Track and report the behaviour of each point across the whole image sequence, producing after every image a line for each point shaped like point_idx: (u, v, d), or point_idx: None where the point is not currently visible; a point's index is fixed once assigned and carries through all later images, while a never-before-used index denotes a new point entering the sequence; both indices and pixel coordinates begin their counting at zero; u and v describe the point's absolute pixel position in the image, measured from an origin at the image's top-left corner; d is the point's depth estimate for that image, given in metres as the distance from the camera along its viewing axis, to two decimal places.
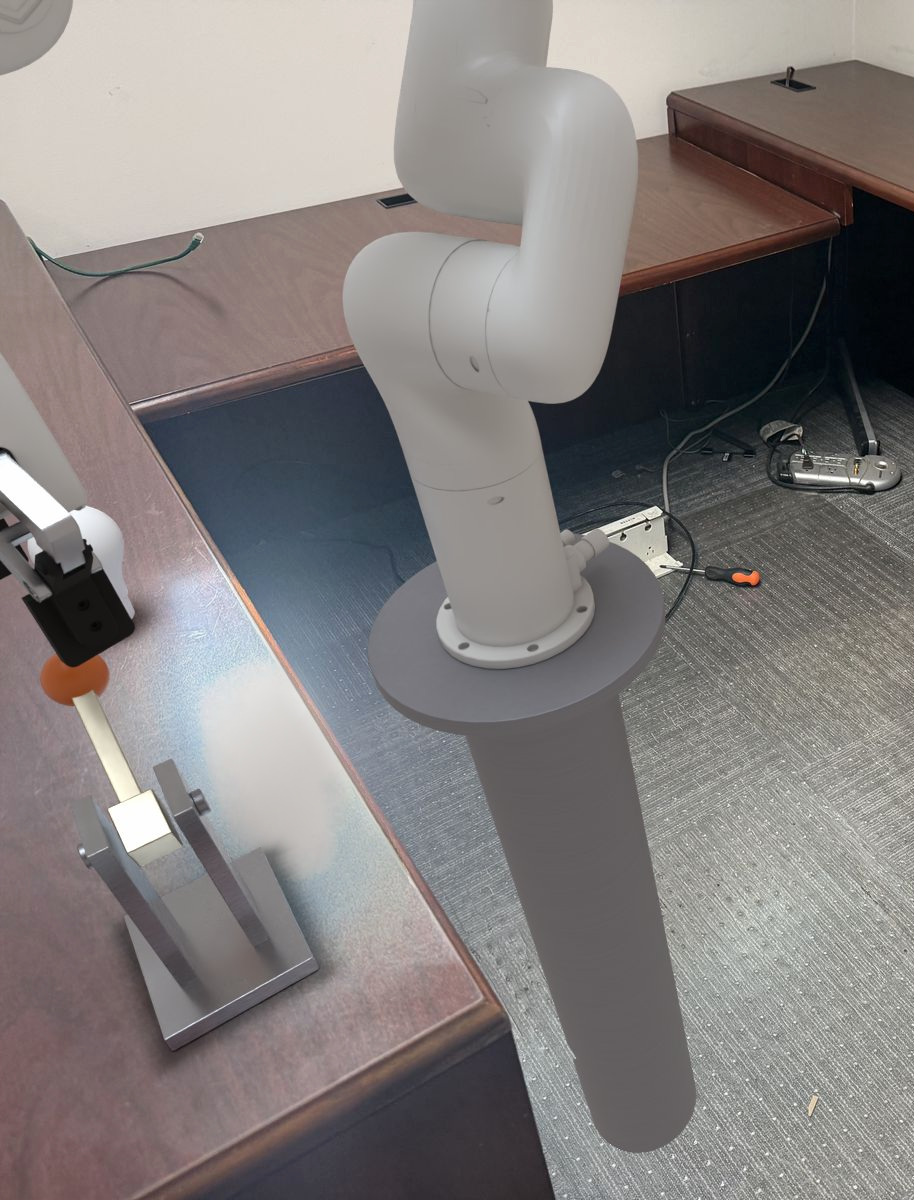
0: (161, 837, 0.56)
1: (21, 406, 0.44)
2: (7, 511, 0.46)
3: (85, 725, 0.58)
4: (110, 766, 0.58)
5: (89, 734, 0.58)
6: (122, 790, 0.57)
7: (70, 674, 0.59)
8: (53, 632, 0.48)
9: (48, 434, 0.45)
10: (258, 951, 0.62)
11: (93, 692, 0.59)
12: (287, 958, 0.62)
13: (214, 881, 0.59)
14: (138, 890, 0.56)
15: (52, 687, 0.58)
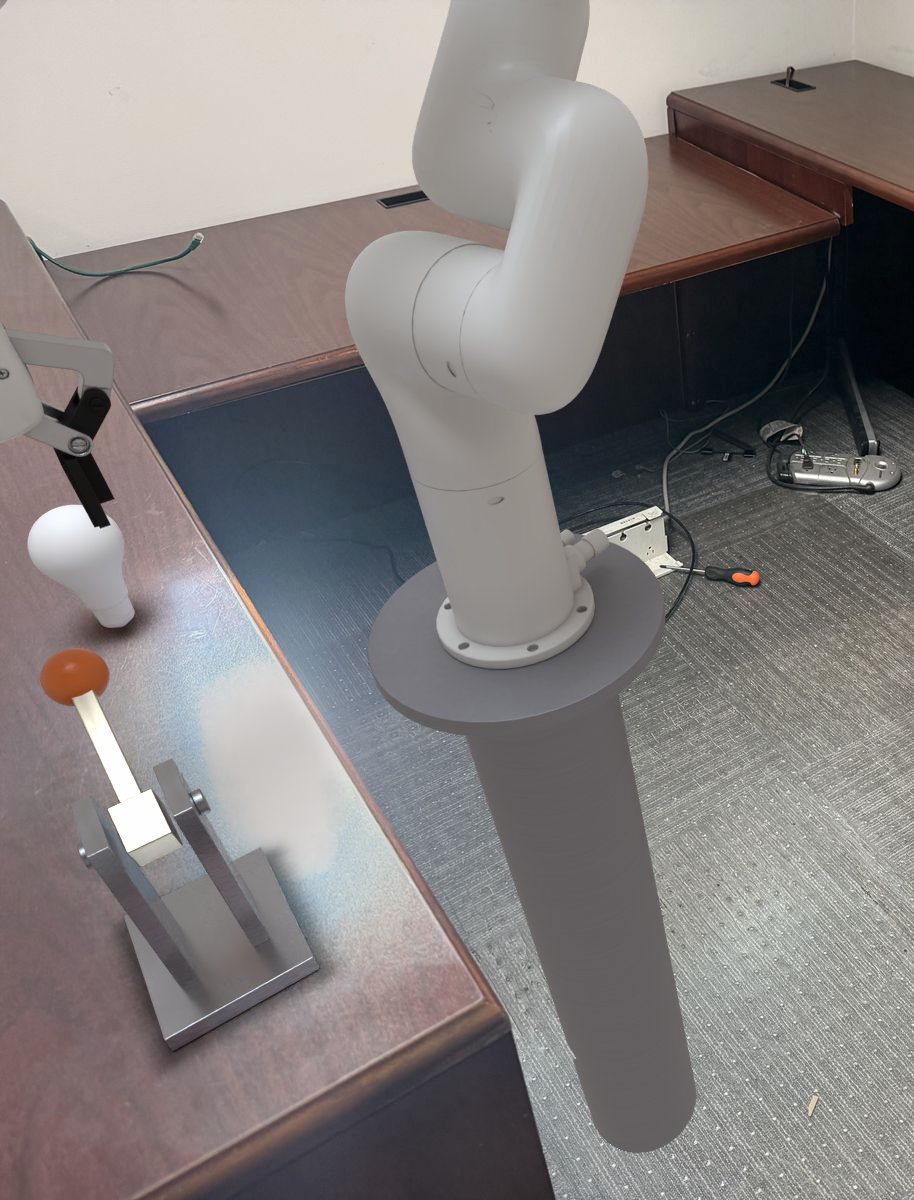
0: (161, 837, 0.56)
1: None
2: None
3: (85, 725, 0.58)
4: (110, 766, 0.58)
5: (89, 734, 0.58)
6: (122, 790, 0.57)
7: (70, 674, 0.59)
8: (93, 491, 0.55)
9: None
10: (258, 951, 0.62)
11: (93, 692, 0.59)
12: (287, 958, 0.62)
13: (214, 881, 0.59)
14: (138, 890, 0.56)
15: (52, 687, 0.58)
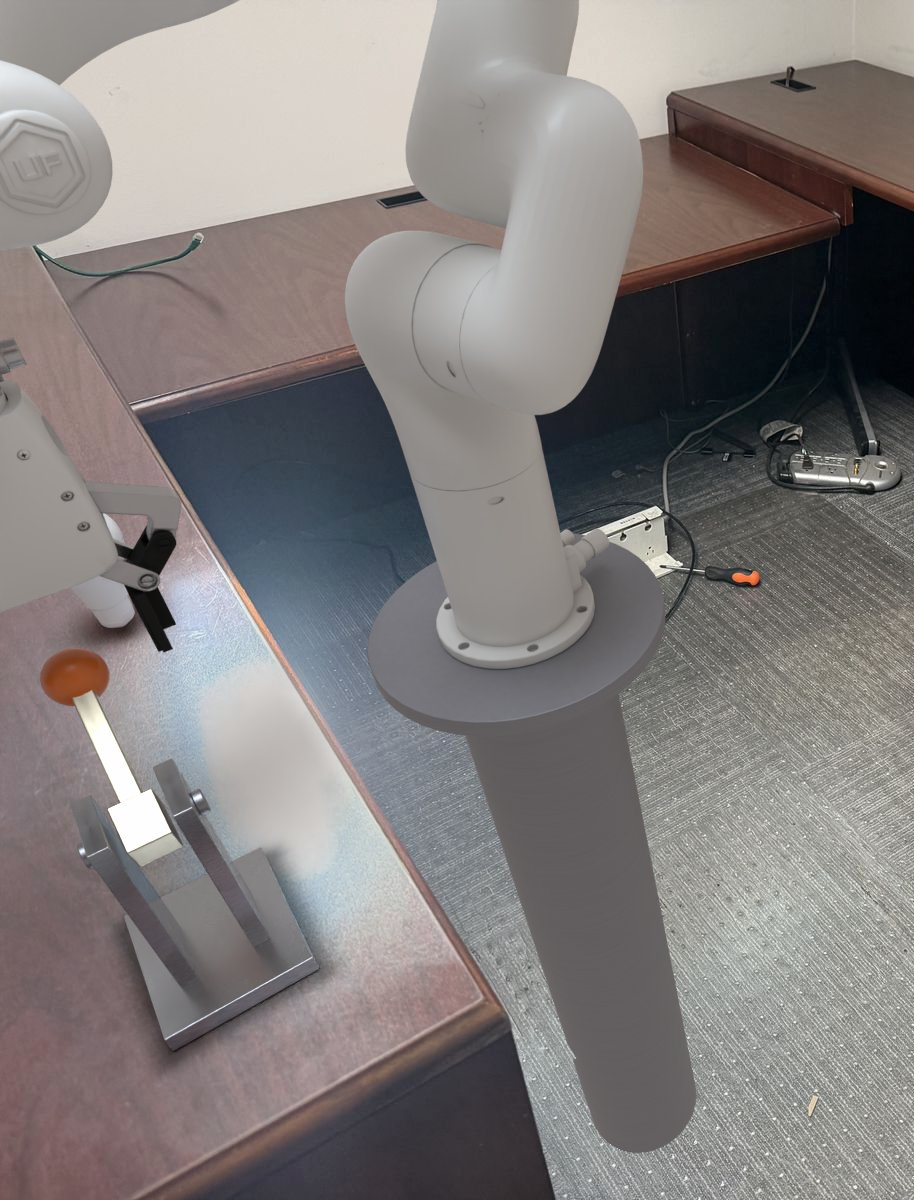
0: (161, 837, 0.56)
1: None
2: None
3: (85, 725, 0.58)
4: (110, 766, 0.58)
5: (89, 734, 0.58)
6: (122, 790, 0.57)
7: (70, 674, 0.59)
8: (158, 620, 0.60)
9: None
10: (258, 951, 0.62)
11: (93, 692, 0.59)
12: (287, 958, 0.62)
13: (214, 881, 0.59)
14: (138, 890, 0.56)
15: (52, 687, 0.58)
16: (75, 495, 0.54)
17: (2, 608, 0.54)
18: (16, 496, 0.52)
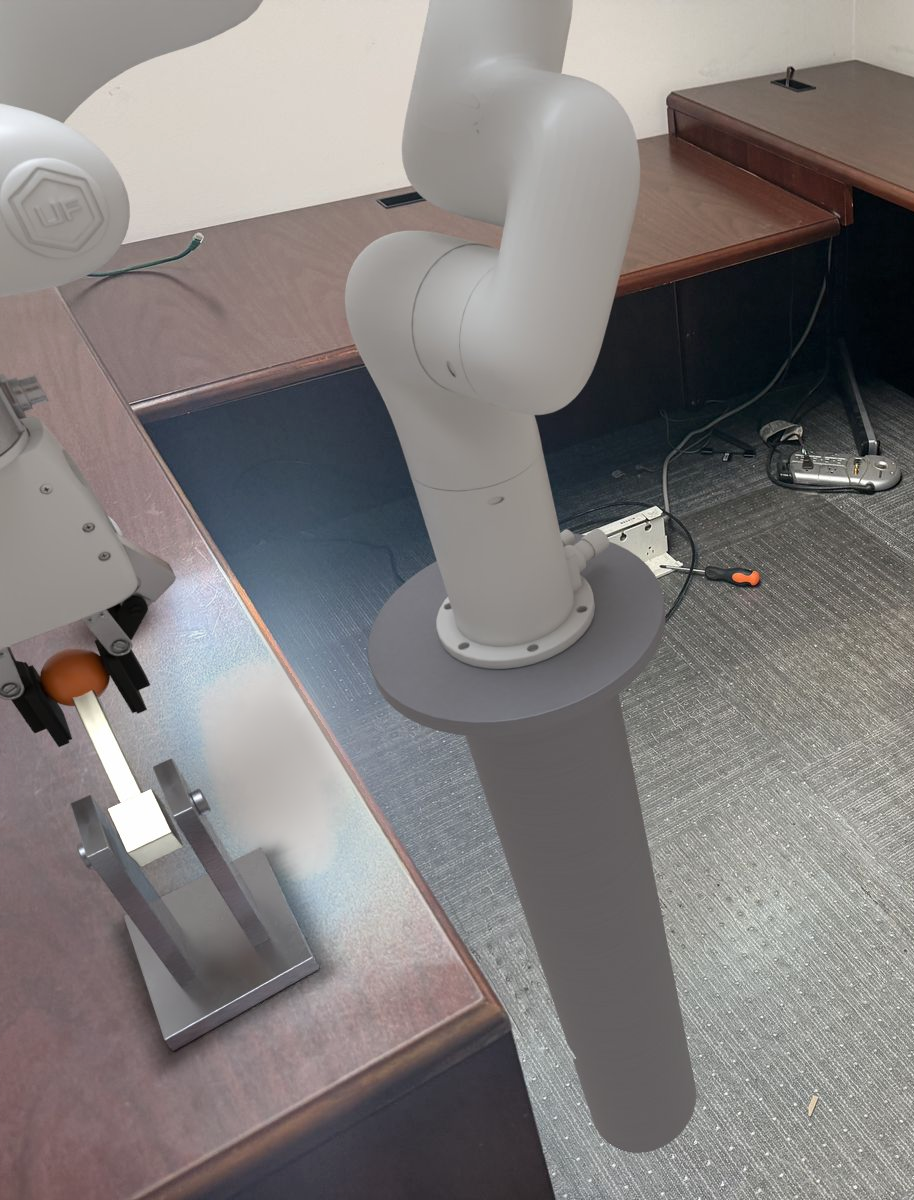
0: (161, 837, 0.56)
1: None
2: None
3: (85, 725, 0.58)
4: (110, 766, 0.58)
5: (89, 734, 0.58)
6: (122, 790, 0.57)
7: (70, 674, 0.59)
8: (131, 683, 0.61)
9: None
10: (258, 951, 0.62)
11: (93, 692, 0.59)
12: (287, 958, 0.62)
13: (214, 881, 0.59)
14: (138, 890, 0.56)
15: (52, 687, 0.58)
16: (96, 526, 0.55)
17: (26, 636, 0.55)
18: (39, 529, 0.53)
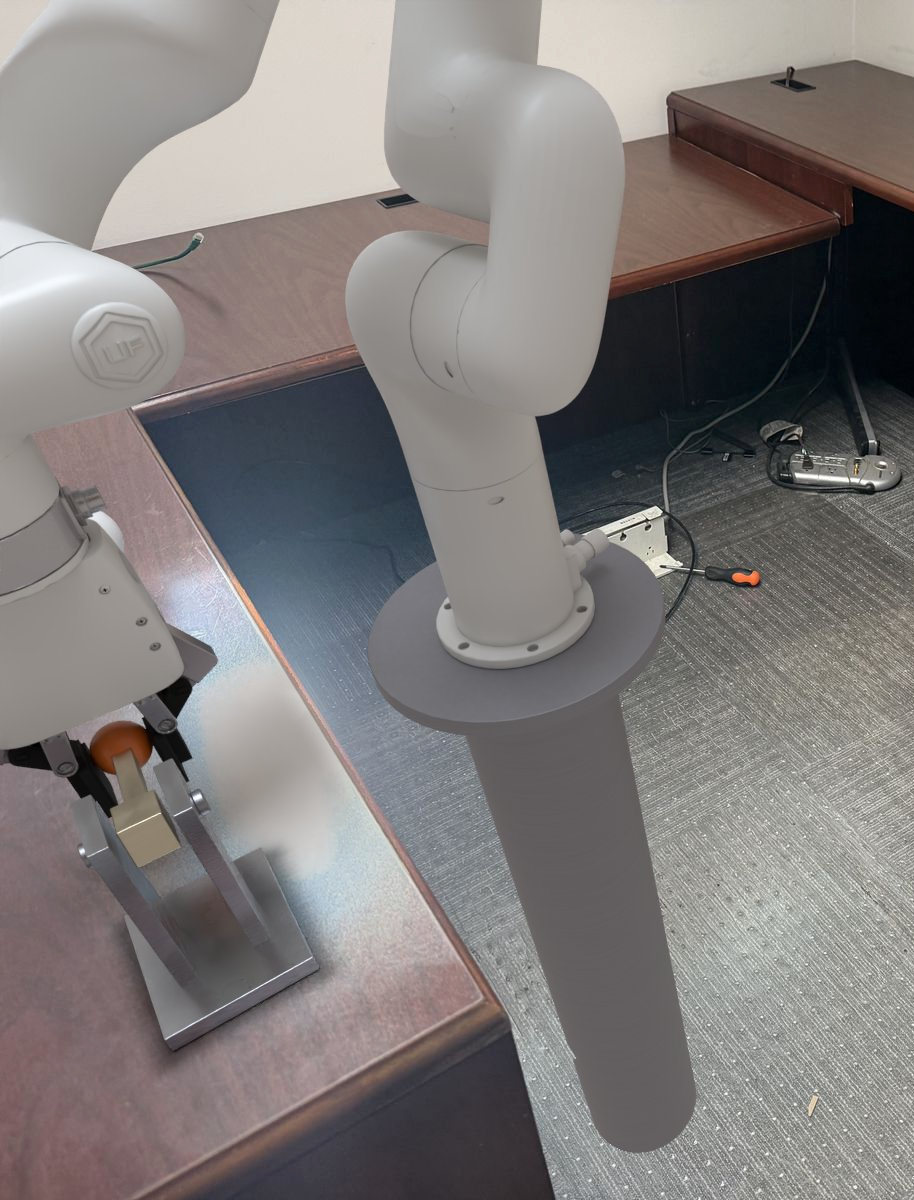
0: (151, 818, 0.56)
1: None
2: None
3: (116, 769, 0.62)
4: (126, 789, 0.59)
5: (117, 773, 0.61)
6: None
7: (111, 732, 0.63)
8: (176, 757, 0.65)
9: None
10: (258, 951, 0.62)
11: (130, 748, 0.63)
12: (287, 958, 0.62)
13: (214, 881, 0.59)
14: (138, 890, 0.56)
15: (95, 747, 0.63)
16: (148, 620, 0.59)
17: (83, 721, 0.60)
18: (97, 625, 0.58)
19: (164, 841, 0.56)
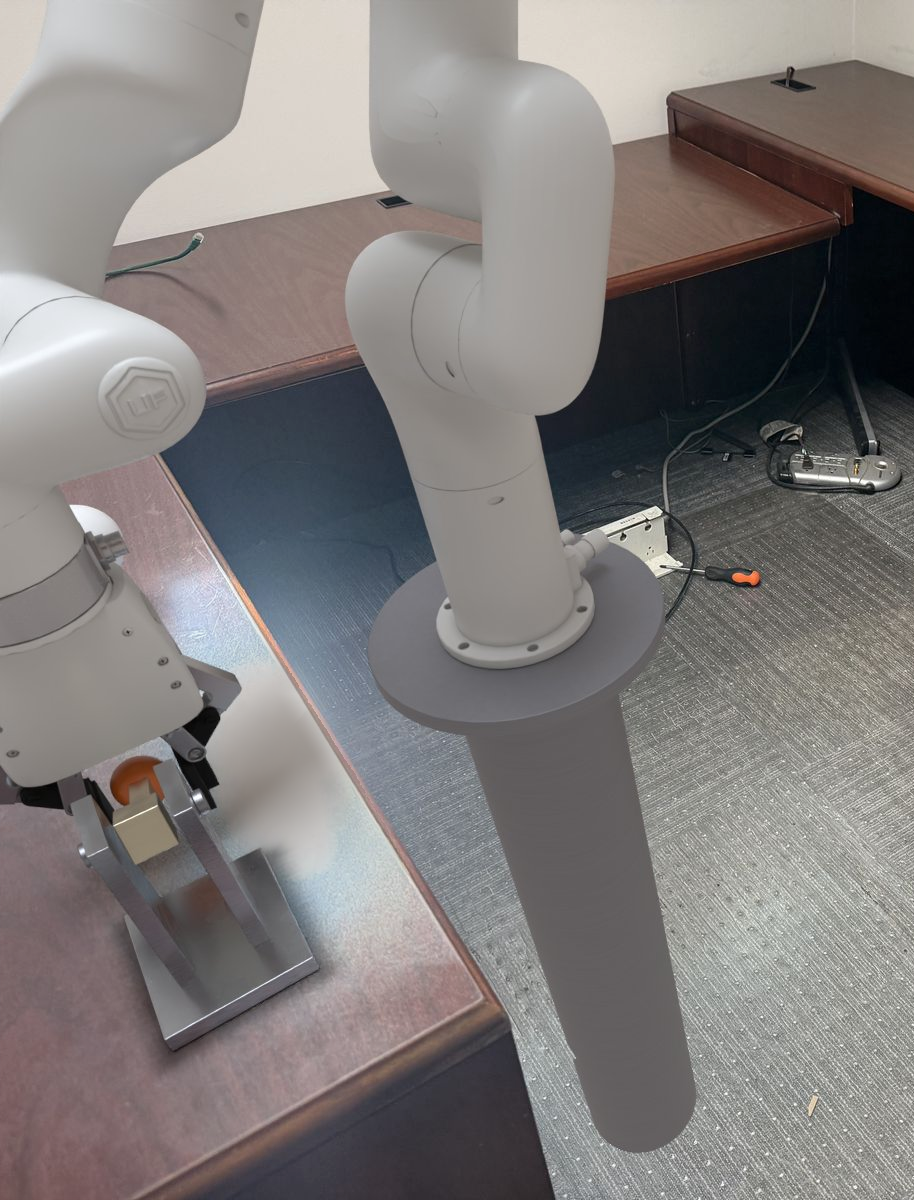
0: (147, 811, 0.56)
1: None
2: None
3: (129, 792, 0.62)
4: None
5: (129, 795, 0.62)
6: None
7: (129, 764, 0.64)
8: (204, 784, 0.67)
9: None
10: (258, 951, 0.62)
11: (147, 777, 0.64)
12: (287, 958, 0.62)
13: (214, 881, 0.59)
14: (138, 890, 0.56)
15: (114, 779, 0.64)
16: (169, 659, 0.61)
17: (106, 758, 0.62)
18: (120, 666, 0.59)
19: (161, 836, 0.56)
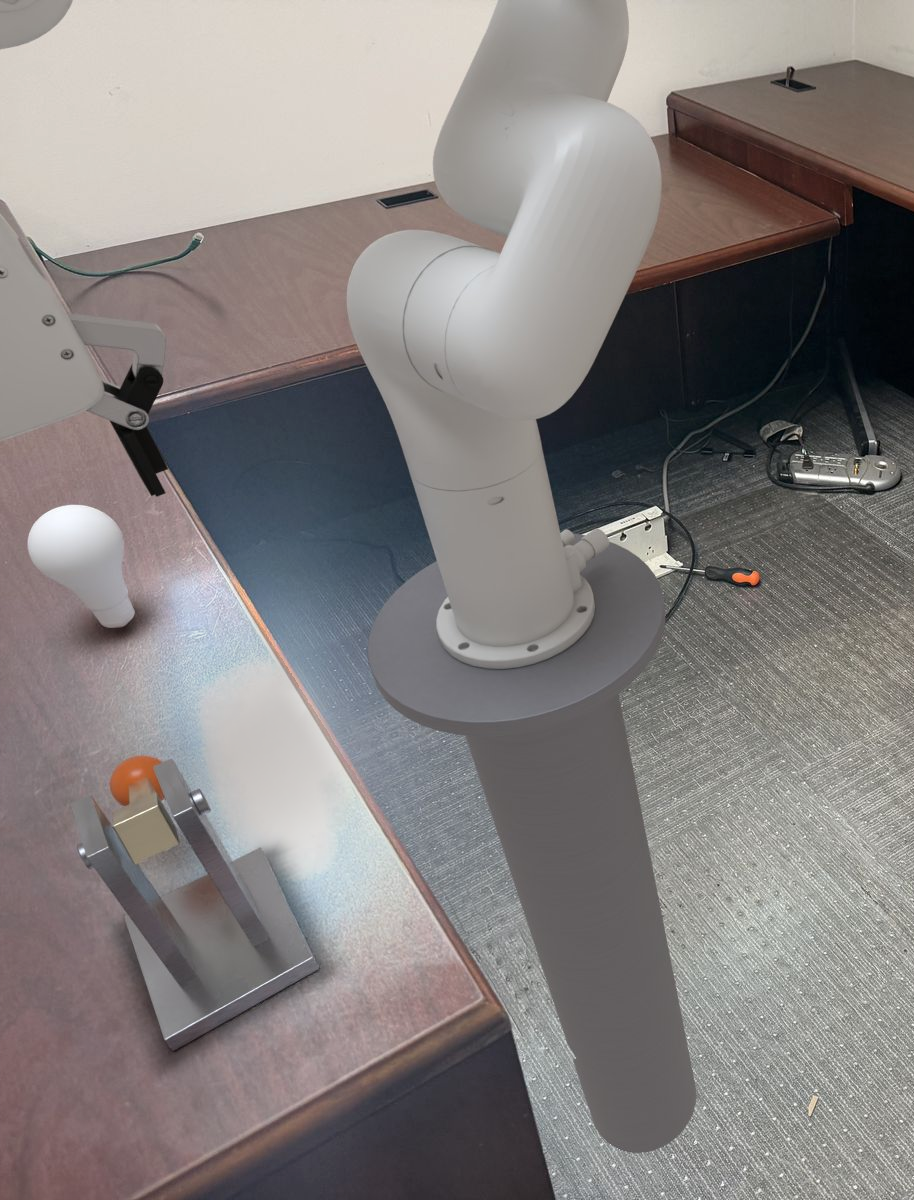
0: (147, 811, 0.56)
1: None
2: None
3: (129, 792, 0.62)
4: None
5: (129, 795, 0.62)
6: None
7: (129, 764, 0.64)
8: (149, 461, 0.59)
9: None
10: (258, 951, 0.62)
11: (147, 777, 0.64)
12: (287, 958, 0.62)
13: (214, 881, 0.59)
14: (138, 890, 0.56)
15: (114, 779, 0.64)
16: (56, 320, 0.53)
17: None
18: None
19: (161, 836, 0.56)
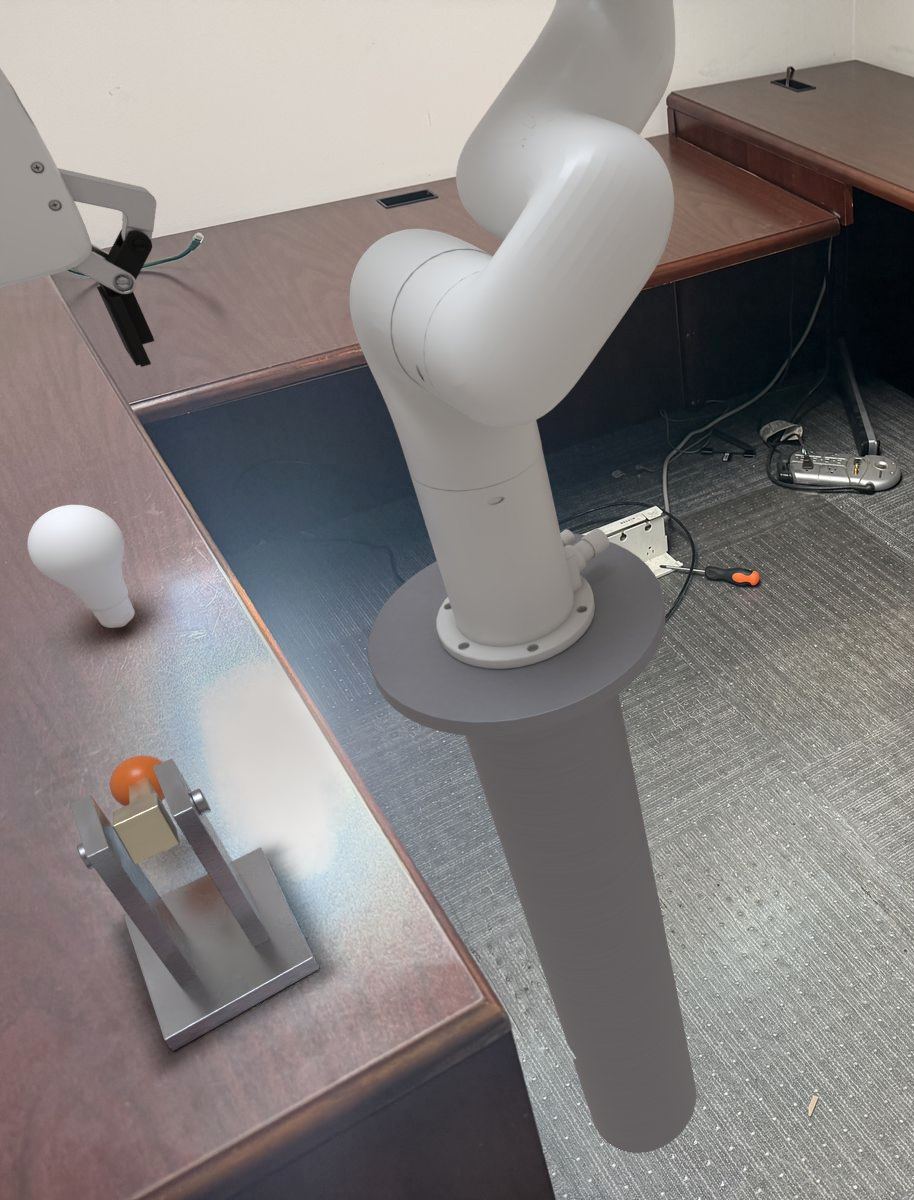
0: (147, 811, 0.56)
1: None
2: None
3: (129, 792, 0.62)
4: None
5: (129, 795, 0.62)
6: None
7: (129, 764, 0.64)
8: (135, 329, 0.59)
9: None
10: (258, 951, 0.62)
11: (147, 777, 0.64)
12: (287, 958, 0.62)
13: (214, 881, 0.59)
14: (138, 890, 0.56)
15: (114, 779, 0.64)
16: (45, 168, 0.53)
17: None
18: None
19: (161, 836, 0.56)
